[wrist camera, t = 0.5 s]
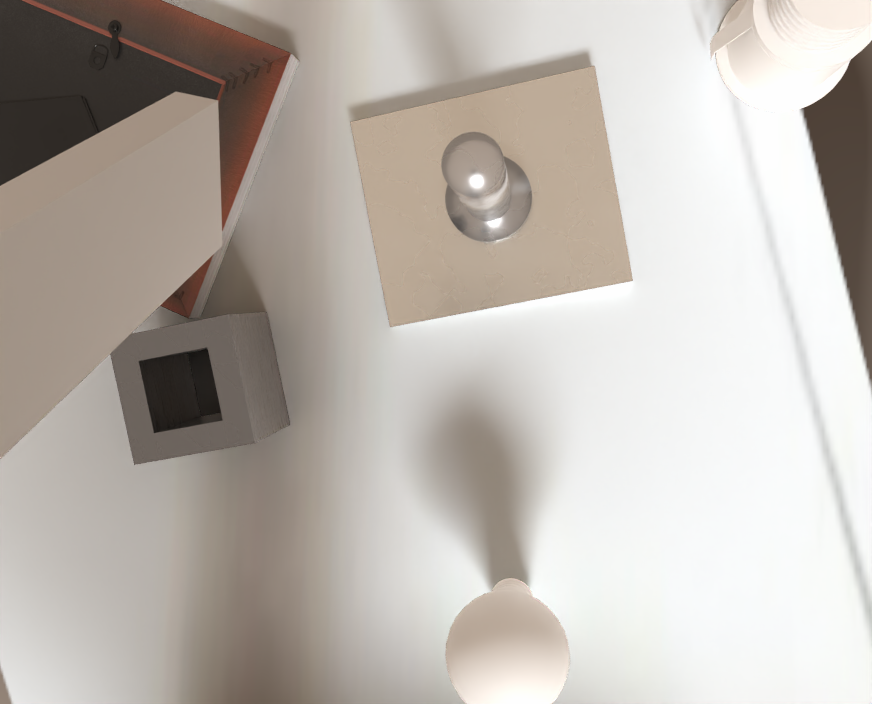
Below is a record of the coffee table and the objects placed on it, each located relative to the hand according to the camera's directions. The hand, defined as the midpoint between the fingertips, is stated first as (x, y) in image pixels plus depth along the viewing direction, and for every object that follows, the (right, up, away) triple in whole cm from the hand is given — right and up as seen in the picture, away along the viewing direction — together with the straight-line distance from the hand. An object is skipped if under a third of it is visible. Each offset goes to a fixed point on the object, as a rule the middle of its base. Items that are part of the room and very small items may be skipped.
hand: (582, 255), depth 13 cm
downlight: (+16, +15, +30) cm, 37 cm away
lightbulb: (+2, -16, +34) cm, 37 cm away
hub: (-15, -3, +35) cm, 38 cm away
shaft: (+1, +7, +32) cm, 33 cm away
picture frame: (-23, +12, +36) cm, 44 cm away
